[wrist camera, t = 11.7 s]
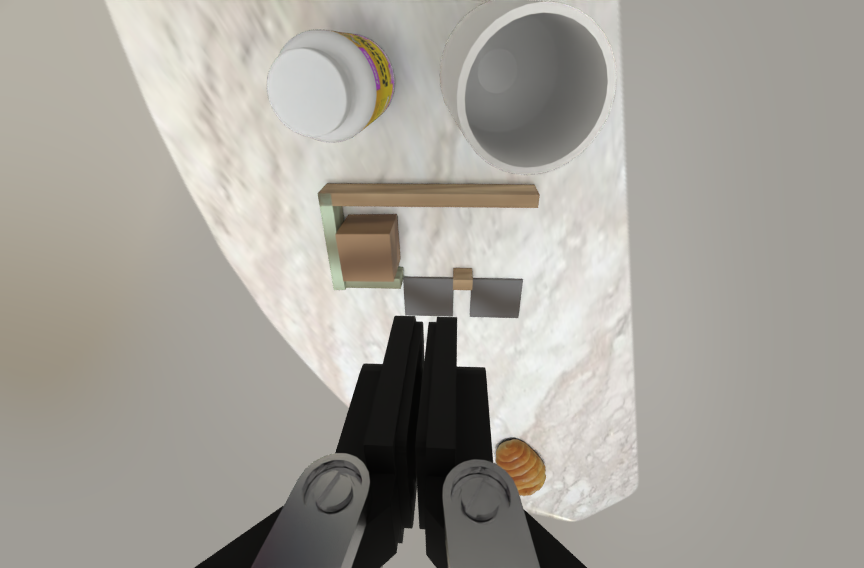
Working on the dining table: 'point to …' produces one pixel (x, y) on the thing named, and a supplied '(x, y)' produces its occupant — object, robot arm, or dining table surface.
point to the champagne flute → (528, 83)
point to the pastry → (521, 466)
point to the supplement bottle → (330, 84)
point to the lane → (430, 291)
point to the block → (369, 247)
